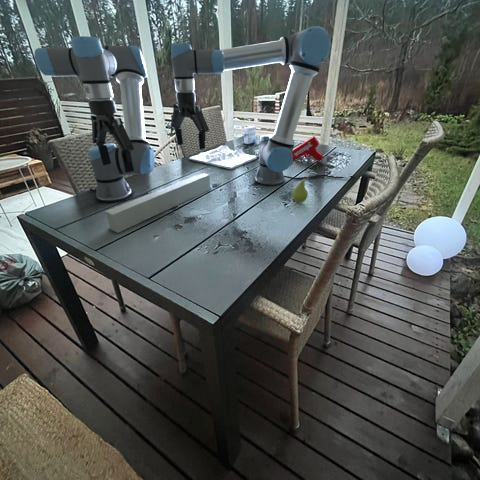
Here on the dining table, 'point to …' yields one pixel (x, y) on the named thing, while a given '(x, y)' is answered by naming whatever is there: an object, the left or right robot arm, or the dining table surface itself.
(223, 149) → the relief map
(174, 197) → the bar
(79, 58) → the left robot arm
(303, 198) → the fruit
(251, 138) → the ink box
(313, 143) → the toy gun
